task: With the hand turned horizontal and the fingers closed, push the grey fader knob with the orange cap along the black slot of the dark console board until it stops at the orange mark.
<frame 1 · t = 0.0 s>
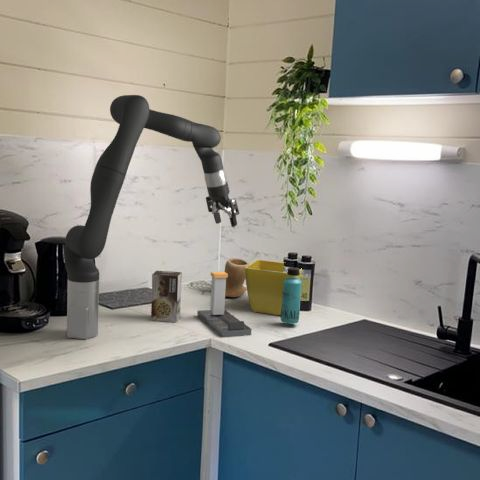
hand: (226, 224, 218), 31 cm above the worktop, tool tilted 20°, fingers open, 8 cm apart
coffee box: (165, 319, 206), on the worktop
console: (223, 325, 202), on the worktop
flower pot: (272, 310, 225), on the worktop
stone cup: (233, 295, 245), on the worktop
beverage bottle: (289, 325, 207), on the worktop
fader: (218, 293, 206), point 9 cm above the worktop, slide at 0.0 cm
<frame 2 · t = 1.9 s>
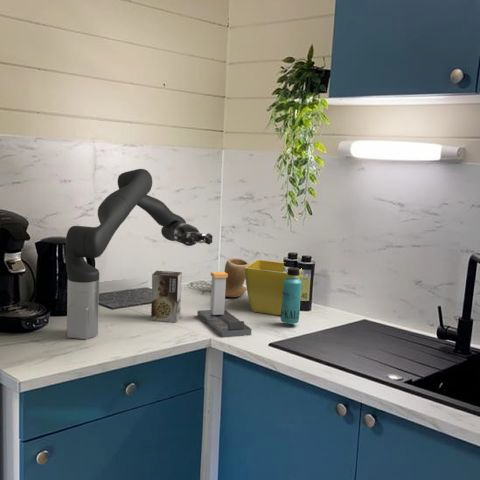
hand: (201, 241, 210), 26 cm above the worktop, tool horizontal, fingers open, 5 cm apart
nothing on the worktop moved.
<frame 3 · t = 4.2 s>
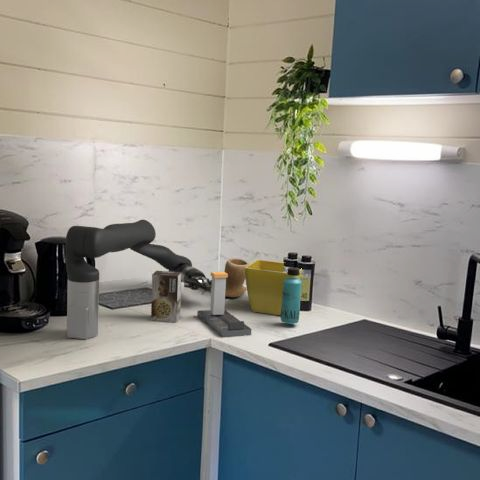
hand: (208, 288, 216), 9 cm above the worktop, tool horizontal, fingers closed
nothing on the worktop moved.
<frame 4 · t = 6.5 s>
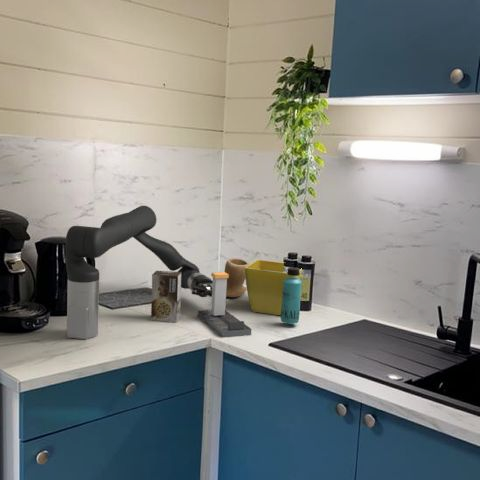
hand: (217, 295, 207), 8 cm above the worktop, tool horizontal, fingers closed
fader: (218, 293, 206), point 9 cm above the worktop, slide at 0.8 cm, touching gripper
everything else where it was.
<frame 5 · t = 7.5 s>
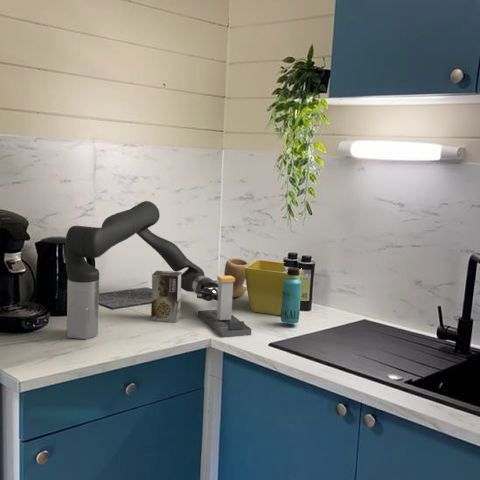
hand: (222, 300, 202), 8 cm above the worktop, tool horizontal, fingers closed
fader: (224, 297, 201), point 9 cm above the worktop, slide at 6.4 cm, touching gripper
everything else where it was.
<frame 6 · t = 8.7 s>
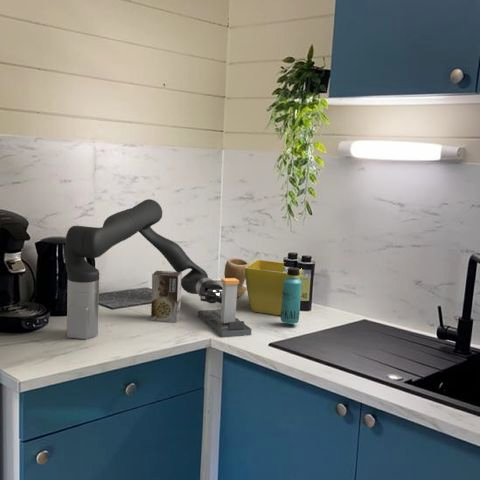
hand: (226, 302, 199), 8 cm above the worktop, tool horizontal, fingers closed
fader: (229, 300, 197), point 9 cm above the worktop, slide at 10.0 cm, touching gripper
everything else where it was.
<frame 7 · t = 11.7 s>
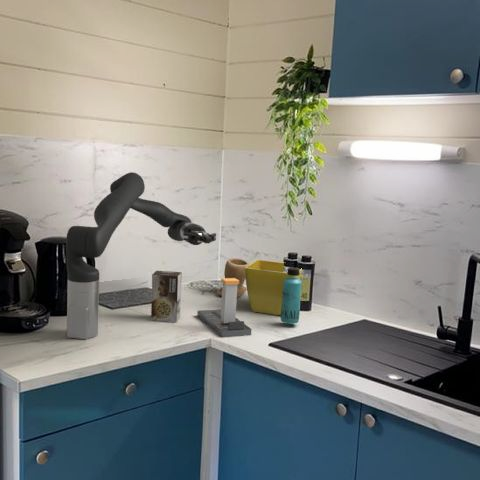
hand: (208, 240, 209), 27 cm above the worktop, tool horizontal, fingers closed
fader: (229, 300, 197), point 9 cm above the worktop, slide at 10.0 cm
everything else where it was.
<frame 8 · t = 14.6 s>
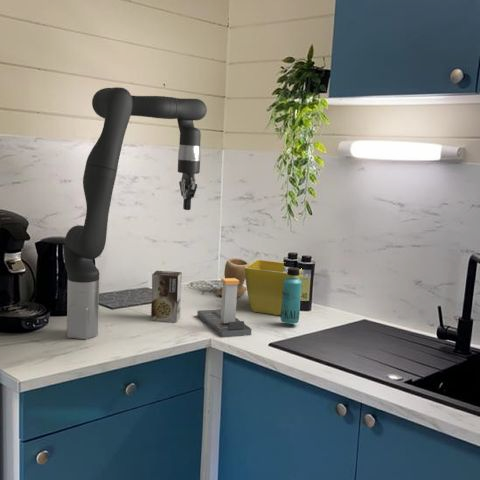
hand: (186, 209, 207), 37 cm above the worktop, tool pointing down, fingers closed
nothing on the worktop moved.
at the end: fader slide at 10.0 cm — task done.
